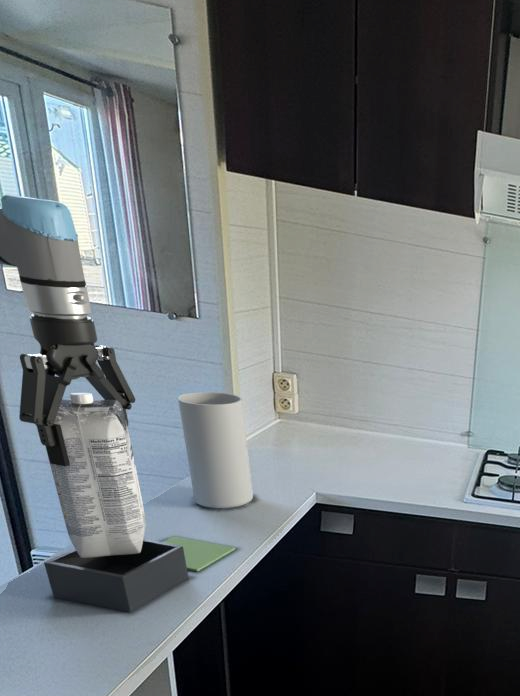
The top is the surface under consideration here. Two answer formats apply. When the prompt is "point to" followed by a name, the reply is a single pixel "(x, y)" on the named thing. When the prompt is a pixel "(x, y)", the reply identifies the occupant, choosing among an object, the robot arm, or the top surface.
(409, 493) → the top surface
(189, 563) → the placemat
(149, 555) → the box
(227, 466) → the cylinder vase
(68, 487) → the juice carton
